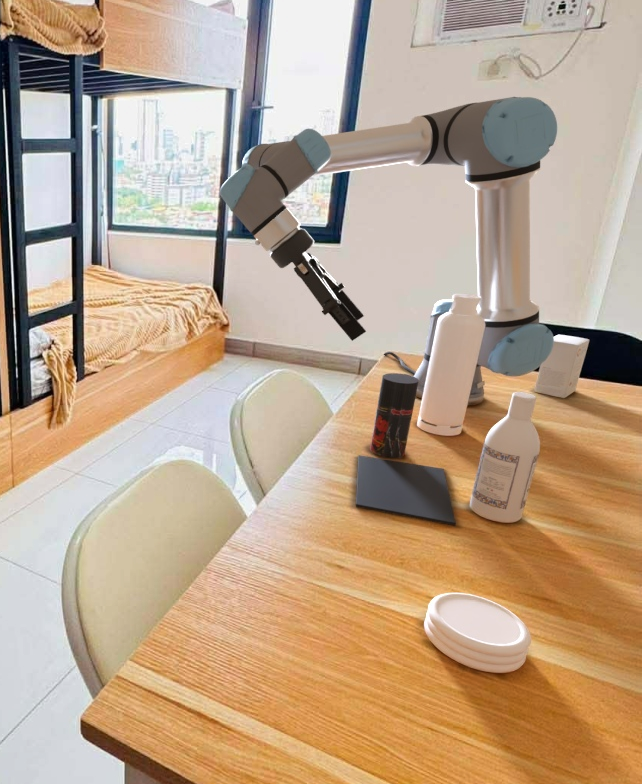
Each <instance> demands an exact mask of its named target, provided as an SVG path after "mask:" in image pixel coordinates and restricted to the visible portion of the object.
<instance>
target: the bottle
mask: <svg viewBox="0 0 642 784" xmlns="http://www.w3.org/2000/svg"><path fill="white" fill-rule="evenodd" d="M451 299H453V303H452V306H451V308H450V311H449V312H447V313H445V314H443V315H441V316H440V317H439V319H438V322H437V327H436V332H435V337H434V342H433V347H432V352H431V357H430V362H429V367H428V372H427V377H426V382H425V387H424V392H423V397H422V399H421V402H420V406H419V407H420V408H419V412H418V413H419V414H418V417H417V423H416V427H417V428H418V429H420V430H422V431H424V432H426V433H429V434H433V435H436V436H438V435H439V436H447V437H451V436H452V437H453V436H458V435H460V434H461V433H462V430H463V425H464V424H463V423H464V422H465V418H466V417H465V416H466V414H467V413H466V412H467V408H468V406H467V404H468V400H469V395H470V391H471V386H472V382H473V378H474V373H475V369H476V364H477V360H478V356H479V351H480V347H481V342H482V338H483V334H484V329H485V321H484V319H483V318H482V317H481V316H479V315H477V314H478V311H477V306H478V304H479V302H480V300H481V296H478V294H473V293H453V294H452V297H451Z"/></svg>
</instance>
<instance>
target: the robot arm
mask: <svg viewBox="0 0 642 784" xmlns="http://www.w3.org/2000/svg"><path fill="white" fill-rule="evenodd" d="M557 134H558V123H557V117H556V114H555V112H554V111H553V109H552V108H551V106H550V105H548V104H547V103H545V102H544V101H542V100H541V99H539V98H536V97H531V96H530V97H529V96H523V97H522V96H510V97H505V98H504V97H503V98H498V99H492V100H485V101H479V102H470V103H466V104H463V105H458V106H455V107H452V108H451V107H450V108H447V109H444V110H442V111H436V112H433V113H428V114H424V115H423V114H422V115H416V116H414V117H412V118H411V119H410V120H409V121H408V122H406V123H405V122H404V123H399V124H391V125H385V126H379V127H372V128H366V129H359V130H352V131H346V132H338V133H331V134H325V135H322V134H321V133H319V131H317V130H315V129H313V128H304V130H301V132H299V133H298V134H295V135H294V136H293V137H292V139H290V140H285V141H280V142H279V141H278V142H271V143H260V144H257V145H254V146H252V147H251V148H250V149H249V150H247V152H246V153H245V154H244V156H243V159H242V164H241V168H239V169H238V170H236V171H235V172H234V173H233V174H231V175H230V177H228V179H226V180H225V181H224V183H223V184H222V185H221V187H220V188H219V195H220V197H221V199H222V200H223V201H224V203H225V204H226V206H228V208H229V210H230V212H232V213H233V214H234V215H235V216H236V218H238V220H239V221H240V222H241V223H242V224H243V226H244V227H245V228H246V229H247V230H248V231H249V233H250V234H251V235H252V236H253V237H254V238H255V239H256V240H254V243H255V245H256V246H259V245H261V247H262V249H264V251H266V252H269V251H270V253H269V255H270V256H269V257H270V258H271V259H272V260H273V262H274V263H275V264H276V265H277V267H279V268H280V269H284V268H286V267H287V266H289V265H290V264H291V263H292V264H293V265H294V268H293V270H294V273H296V275H297V276H298V277H299V278H300V279H301V280H302V282H303V283H304V284H305V286H306V287H307V289H308V290H309V292H310V293H311V294H312V295H313V296H314V298H315V299H316V301H317V302H318V303H319V305H320V306H321V308H322V310H321V313H322V314H323V315H324V316H327V314H329V316H331V318H332V319H333V320H334V321H335V322H336V323H337V325H338V326H339V328H341V329H342V331H343V332H344V333H345V334H346V335H347V337H348V338H349V339H350V340H351V342H353V341H354V340H356V339H357V338H359V337H360V336H362V335H363V334H365V333H366V332H367V330H366V328H364V327H363V325H362V324H361V323H360V321H359V320H361V319H362V318H363V317H365V315H364V313H362V311H361V310H360V308H358V307H357V305H356V304H355V303H354V302H353V300H351V298H350V297H349V296H348V295H347V293H346V292H345V290H343V289H344V288H345V285H344V284H343V283H342V282H340V283H339V282H338V281H336V280H335V278H334V277H332V275H331V274H330V273H329V272H328V271H327V270H326V269H325V267H324V266H323V265H322V264H321V262H320V261H319V259H318V258H317V257H316V256H315V255H314V256H313V254H312V253H311V252H309V251H308V250H310V248H312V247H313V246H314V244H315V240H314V238H313V237H312V236H311V235H310V234H309V232H308V231H307V230H306V229H305V228H303V227H300V226H301V223H300V221H299V220H298V219H297V217H296V216H294V214H293V213H292V212H291V211H290V210H289V208H288V207H287V206H286V205H285V204H284V202H283V200H285V199H286V198H287V197H288V196H290V195H291V194H292V193H293V192H294V191H296V190H297V189H298V188H299V187H301V186H302V185H303V184H305V182H307V181H308V180H309V179H311V178H312V177H316V176H322V175H330V174H337V173H343V172H350V171H356V170H363V169H364V170H365V169H370V168H377V167H383V166H391V165H397V164H403V163H407V164H408V165H409V166H412V167H419V166H427V165H441V166H443V165H445V166H458V167H464V172H465V175H464V177H465V183H466V184H468V185H469V186H471V187H472V188H474V191H475V193H474V194H475V195H474V196H475V228H476V231H475V232H476V264H477V265H476V266H477V267H476V268H477V295H478V296H481V300H480V302H479V304H478V306H477V311H478V314H477V315H479V316H481V317H482V318H483V319H484V321H485V329H484V334H483V338H482V342H481V347H480V351H479V356H478V360H477V364H476V369H475V373H474V378H473V382H472V386H471V391H470V395H469V400H468V404H467V407H468V406H475V405H478V404H479V405H480V404H481V403H482V402H483V400H484V396H485V388H484V386H485V385H486V383H485V380H483V375H482V368H481V367H483V368H485V369H487V370H489V371H491V372H492V373H494V374H499V375H503V376H505V377H510V378H511V377H512V378H513V377H516V378H517V377H522V376H525V375H528V374H530V373H532V372H534V371H535V370H537V369H538V368H540V365H541V364H542V362H544V361H545V360H546V359H547V358H548V356H549V355H550V353H551V351H552V348H553V343H554V334H553V332H552V331H551V329H549V328H548V327H547V326H546V325H545V324H541V323H540V307H539V305H538V304H537V303H535V301H533V300H531V294H530V293H531V241H530V240H531V179H532V178H533V177H534V176H535V175H536V174H537V173H538V172H539V171H540V170H541V160H543V159H544V158H545V157H546V156H547V155H548V153H550V151H551V150H550V148H551V147H552V146H554V144H555V141H556V138H557ZM452 303H453V298H448V299H440V300H438V301H437V302H436V303H434V306H433V310H432V312H431V315H430V321H429V326H428V331H427V332H428V333H427V337H426V342H425V348H424V352H423V358H422V361H421V363H420V364H419V367H418V368H417V370H416V371H415V370H414V369H412V368H410V367H408V366H407V365H406V364H405V362H404V360H403V359H402V358H401V357H399V356H398V355H397V354H396V353H394V352H392V351H386V352H384V353H383V354H382V355H383V356H388V355H390V356H392V357H394V358H395V359H396V360H397V361H398V362H399V363H400V366H401V367H402V368H403V369H404V370H405V371H407V372H409V373H411V374H412V376H413V377H415V378H417V379H418V380H419V382H418V387H417V392H416V397H415V398H419V399H420V400H422V397H423V392H424V387H425V382H426V377H427V372H428V367H429V362H430V357H431V352H432V347H433V342H434V337H435V332H436V327H437V322H438V319H439V317H440V316H441V315H443V314H445V313H447V312H449V311H450V308H451V306H452Z"/></svg>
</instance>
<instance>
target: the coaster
mask: <svg viewBox="0 0 642 784" xmlns="http://www.w3.org/2000/svg"><path fill="white" fill-rule="evenodd" d="M423 627H424V632H425V635H426V636H427V638H428V639H429V641H430V642H431V644H433V646H434V647H435V648H437V649H438V650H439V651H440V652H441V653H443V654H444V655H445V656H447V657H449V658H450V659H451V660H453V661H455V662H457V663H459V664H461V665H462V666H465V667H468V668H471V669H473V670H477V671H482V672H487V673H493V674H506V673H512V672H515V671H517V670H519V669H520V668H521V667H522V666H523V665H524V664H525V663H526V661H527V655H528V653H529V649H530V646H531V643H532V635H531V632H530V630H529V628H528V626H527V625H526V623H524V621H523V620H522V619H521V618H519V616H517V615H516V614H515V613H514V612H513V611H510V609H508V608H506V607H505V606H503V605H501V604H499V603H497V602H494V601H493V600H491V599H488V598H485V597H482V596H479V595H475V594H470V593H465V592H447V593H441V594H439V595H437V596H434V597H433V598H432V599H431V600H430V602H428V606H427V611H426V614H425V618H424V622H423Z"/></svg>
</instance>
